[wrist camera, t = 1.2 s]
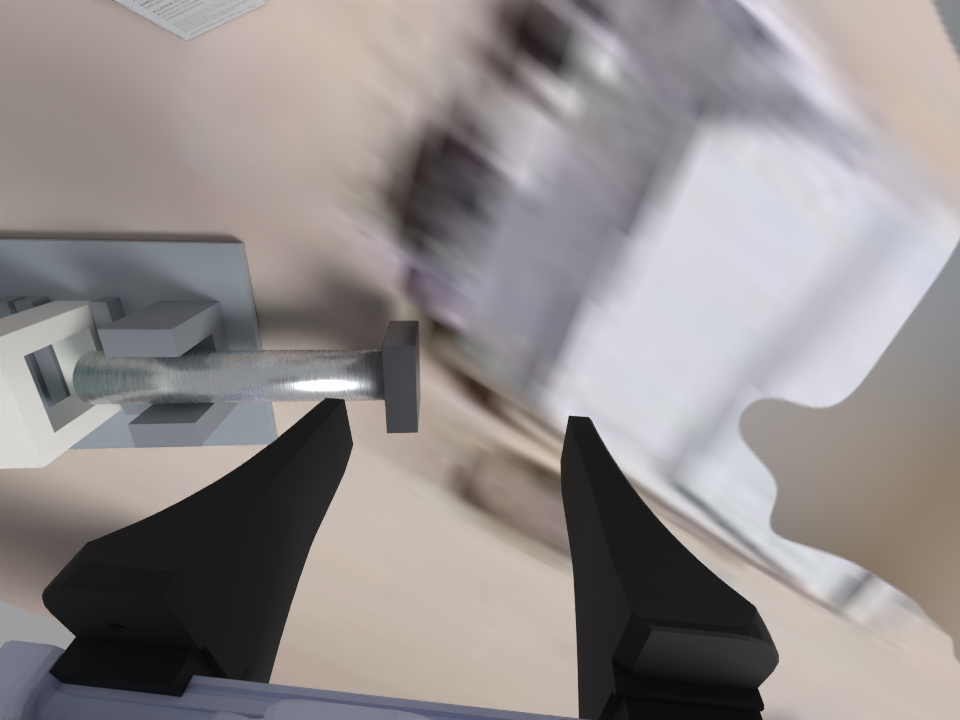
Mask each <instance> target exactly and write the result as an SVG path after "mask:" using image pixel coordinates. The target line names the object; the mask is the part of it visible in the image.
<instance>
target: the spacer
mask: <svg viewBox="0 0 960 720" xmlns="http://www.w3.org/2000/svg"><path fill="white" fill-rule="evenodd" d="M89 302H90V301H61V300H56V301H53V302H50V303H47V304H43V305H40V306H37V307H34V308H31V309H28V310H25V311H22V312H19V313H16V314H13V315H10V316H7V317H4V318H1V319H0V469H4V468H41V467H44V466H46V465H47V464H49V463H50V462H51V461H53V460H54V459H55V458H57V457H58V456H59V455H61V454H62V453H63V452H65V451H66V450H67V449H69V448H70V447H71V446H73V445H74V444H75V443H77V442H78V441H79V440H81V439H82V438H84V437H85V436H86V435H88V434H89V433H90V432H92V431H93V430H94V429H96V428H97V427H98V426H100V425H101V424H102V423H104V422H105V421H106V420H108V419H109V418H110V417H112V416H113V415H115V414H116V413H117V412H119V411H120V410H121V409H123V407H122V404H96V405H92V404H87V403H85V402H83V401H82V400H81V399H80V398H79V397H78V395H77V394H76V392H75V390H74V386H73V371H74V367H75V365H76V363H77V361H78V360H79V358H80V357H81V356H82V355H84V354H85V353H87V352H89V351H104V350H103V347H102V344H101V340H100V337H99V334H98V331H97V326H96V323H95V320H94V317H93V314H92V311H91V308H90V305H89ZM51 344H52V346H53V349H54V351H55V354H56V357H57V359H58V362H59V365H60V367H61V370H62V373H63V376H64V378H65V381H66V384H67V386H68V389H69V392H70V394H71V395H70V396H69V397H67V398H65V399H64V400H62V401H60V402H59V403H57V404H55V405H54V406H52V407H50V408H49V409H47V410H45V408H44V406H43V403H42V401H41V398H40V396H39V393H38V391H37V388H36V386H35V383H34V381H33V378H32V376H31V373H30V371H29V368H28V366H27V363H26V361H25V358H24V356H25V355H28V354H30V353H32V352H35V351H37V350H39V349H41V348H44V347H46V346H48V345H51Z"/></svg>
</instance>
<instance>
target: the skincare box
mask: <svg viewBox="0 0 960 720" xmlns="http://www.w3.org/2000/svg"><path fill="white" fill-rule="evenodd" d="M113 1H115V2H116V3H118V4H120V5H122V6H124V7H125V8H127V9H129V10H131V11H133V12H135V13H136V14H138V15H140V16H142V17H144V18H145V19H147V20H149V21H151V22H152V23H154V24H156V25H158V26H160V27H162V28H163V29H165V30H167V31H169V32H171V33H173V34H174V35H176V36H178V37H180V38H181V39H183V40H189V39H192V38H194V37H196V36H198V35H200V34H202V33H205V32H208V31H210V30H212V29H214V28H217V27H218V26H221V25H222V24H224V23H227V22H229V21H231V20H233V19H235V18H237V17H239V16H242V15H244V14H245V13H247V12H250V11H252V10H254V9H256V8H258V7H260V6H262V5H264V4H266V2H267V0H113Z"/></svg>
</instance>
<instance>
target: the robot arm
mask: <svg viewBox="0 0 960 720" xmlns="http://www.w3.org/2000/svg"><path fill="white" fill-rule="evenodd" d="M352 447H353V441H352V436H351V431H350V426H349V421H348V416H347V410H346V405H345V400H344V399H336V398H325V399H324V400H323V401H321V402H320V403H319V404H318V405H317V406H315V407H314V408H313V409H312V410H311V411H310V412H308V413H307V414H306V415H305V416H304V417H302V418H301V419H300V420H299V421H298V422H297V423H295V424H294V425H293V426H292V427H291V428H289V429H288V430H287V431H286V432H284V433H283V434H282V435H281V436H280V437H278V438H277V439H276V440H275V441H273V442H272V443H271V444H269V445H268V446H267V447H265V448H264V449H263V450H261V451H260V452H259V453H257V454H256V455H255V456H253V457H252V458H251V459H249V460H248V461H246V462H245V463H244V464H242V465H241V466H239V467H238V468H236V469H235V470H233V471H232V472H230V473H228V474H227V475H225V476H224V477H222V478H221V479H219V480H217V481H216V482H214V483H212V484H211V485H209V486H207V487H205V488H203V489H202V490H200V491H198V492H196V493H195V494H193V495H191V496H189V497H187V498H186V499H184V500H182V501H180V502H178V503H176V504H174V505H172V506H170V507H168V508H166V509H164V510H162V511H160V512H158V513H156V514H154V515H152V516H150V517H147V518H145V519H143V520H141V521H139V522H136V523H134V524H132V525H130V526H127V527H125V528H122V529H120V530H117V531H115V532H113V533H110V534H108V535H105V536H103V537H101V538H98V539H96V540H93V541H90V542H88V543H87V544H86V545H85V546H84V547H83V548H82V549H81V550H80V551H79V552H78V553H77V554H76V555H75V557H74V558H73V559H72V560H71V561H70V562H69V563H68V564H67V565H66V566H65V567H64V569H63V570H62V571H61V572H60V573H59V574H58V575H57V576H56V577H55V578H54V580H53V581H52V582H51V583H50V584H49V585H48V586H47V587H46V588H45V589H44V592H43V594H42V599H43V602H44V605H45V607H46V608H47V609H48V610H49V611H50V613H51V614H52V615H53V616H55V617H56V618H57V619H58V620H59V621H60V622H61V623H62V624H63V625H64V626H65V627H66V628H67V629H68V630H69V631H70V632H72V633H73V634H74V635H75V636H76V638H75V639H74V640H73V642H72V643H71V644H70V645H69V647H68V648H67V649H66V650H64V649H62V648H59V647H57V646H53V645H47V644H39V643H30V642H21V641H8V642H5V643H4V645H3V646H2V647H1V648H0V720H763V719H762V716H761V714H760V711H763V710H764V704H763V701H762V698H761V696H760V693H759V690H758V687H759V686H760V685H761V684H762V683H763V682H764V681H765V680H766V679H767V678H768V677H769V675H770V674H771V673H772V672H773V671H774V669H775V668H776V666H777V664H778V662H779V654H778V652H777V649H776V647H775V645H774V642H773V640H772V638H771V635H770V633H769V631H768V629H767V627H766V625H765V623H764V622H763V620H762V618H761V616H760V615H759V613H758V611H757V609H756V607H755V606H754V605H753V604H751V603H750V602H749V601H748V600H746V599H745V598H744V597H742V596H741V595H740V594H739V593H737V592H736V591H735V590H734V589H732V588H731V587H730V586H728V585H727V584H726V583H725V582H723V581H722V580H721V579H720V578H718V577H717V576H716V575H715V574H714V573H713V572H712V571H710V570H709V569H708V568H707V567H706V566H705V565H704V564H702V563H701V562H700V561H699V560H698V559H697V558H696V557H695V556H694V555H693V554H692V553H691V552H690V551H689V550H688V549H687V548H686V547H685V546H683V545H682V544H681V543H680V542H679V541H678V540H677V539H676V538H675V537H674V536H673V535H672V534H671V533H670V531H669V530H668V529H667V528H666V527H665V526H664V525H663V524H662V523H661V522H660V521H659V519H658V518H657V517H656V516H655V515H654V514H653V512H652V511H651V510H650V509H649V508H648V506H647V505H646V504H645V503H644V502H643V500H642V499H641V498H640V496H639V495H638V494H637V492H636V491H635V490H634V488H633V487H632V486H631V484H630V483H629V482H628V480H627V479H626V477H625V476H624V474H623V473H622V471H621V470H620V468H619V467H618V465H617V464H616V462H615V461H614V459H613V458H612V456H611V454H610V453H609V451H608V450H607V448H606V446H605V444H604V443H603V441H602V439H601V437H600V436H599V434H598V432H597V430H596V428H595V426H594V424H593V422H592V420H591V419H590V418H589V417H579V416H569V418H568V424H567V429H566V435H565V440H564V446H563V451H562V456H561V488H562V497H563V504H564V511H565V517H566V524H567V530H568V537H569V543H570V550H571V556H572V565H573V575H574V593H575V612H576V634H577V661H578V698H579V719H578V718H569V717H560V716H551V715H542V714H533V713H525V712H516V711H507V710H498V709H489V708H480V707H471V706H462V705H453V704H445V703H436V702H427V701H418V700H409V699H400V698H391V697H382V696H374V695H365V694H356V693H347V692H338V691H329V690H320V689H311V688H303V687H294V686H285V685H276V684H269V680H270V676H271V673H272V669H273V665H274V662H275V658H276V654H277V651H278V647H279V643H280V640H281V636H282V633H283V630H284V626H285V623H286V620H287V616H288V613H289V610H290V606H291V603H292V600H293V597H294V594H295V591H296V588H297V585H298V582H299V579H300V576H301V573H302V570H303V567H304V564H305V561H306V559H307V556H308V553H309V550H310V547H311V545H312V542H313V540H314V538H315V535H316V533H317V531H318V529H319V527H320V524H321V522H322V520H323V518H324V516H325V514H326V512H327V510H328V507H329V505H330V503H331V501H332V499H333V497H334V495H335V492H336V490H337V488H338V486H339V484H340V482H341V479H342V477H343V475H344V473H345V470H346V466H347V463H348V460H349V457H350V454H351V450H352Z"/></svg>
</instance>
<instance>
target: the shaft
mask: <svg viewBox="0 0 960 720" xmlns="http://www.w3.org/2000/svg"><path fill="white" fill-rule="evenodd" d="M73 386H74V390H75V392H76V394H77V395H78V397H79V398H80V399H81V400H82V401H83V402H85V403H87V404H92V405H96V404H163V403H231V402H298V401H323V400H324V399H325V398H336V399H344V400H345V401H365V400H385V406H386V423H387V433H413V432H418V421H419V407H420V365H419V323H418V321H390V323H389V326H388V329H387V332H386V335H385V338H384V342H383V345H382V350H188V351H186V352H185V353H184V354H182V355H181V356H179V357H111V358H106V356H105V353H104V351H89V352H87V353H85V354H84V355H82V356H81V357H80V358H79V360H78V361H77V363H76V365H75V367H74V371H73Z"/></svg>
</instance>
